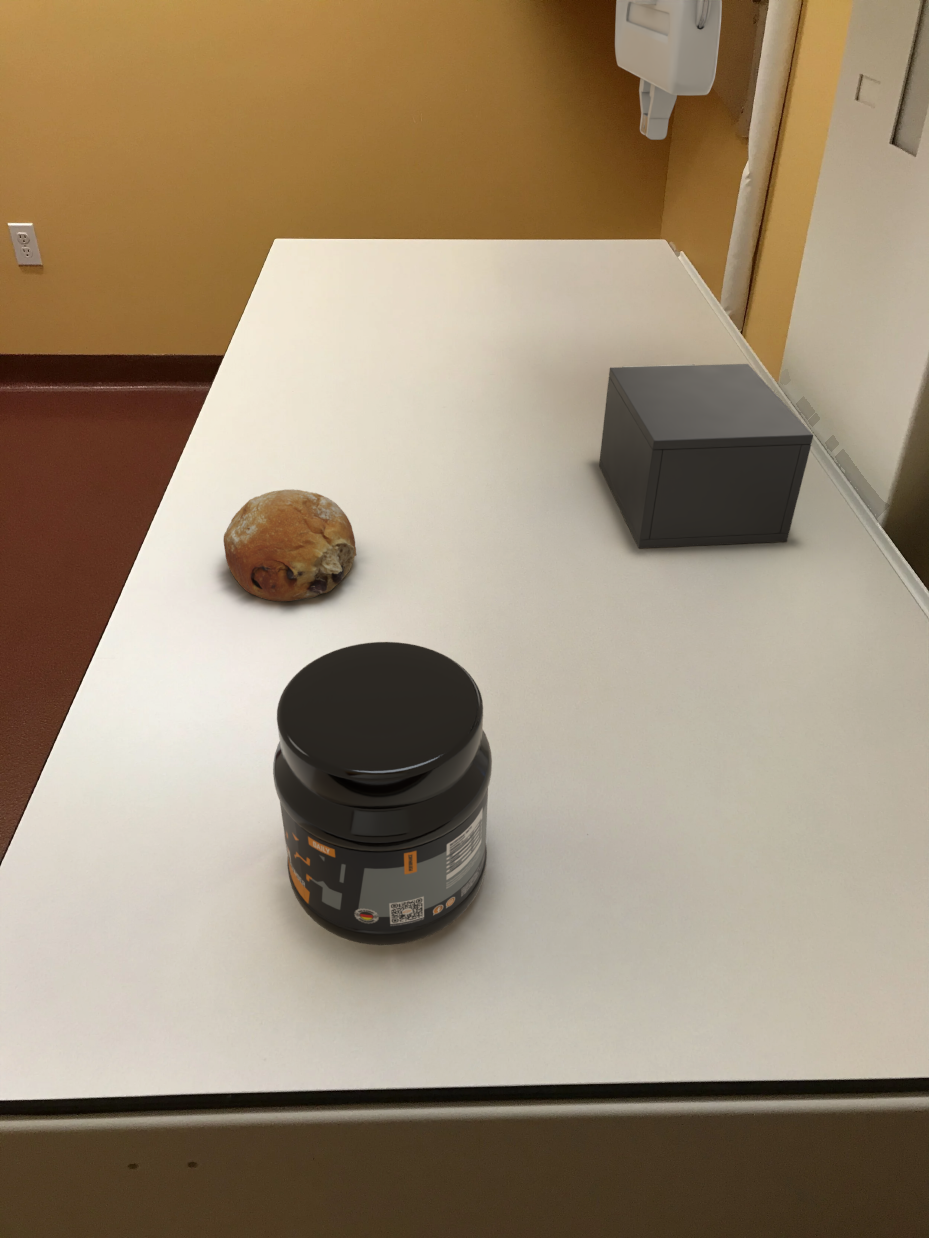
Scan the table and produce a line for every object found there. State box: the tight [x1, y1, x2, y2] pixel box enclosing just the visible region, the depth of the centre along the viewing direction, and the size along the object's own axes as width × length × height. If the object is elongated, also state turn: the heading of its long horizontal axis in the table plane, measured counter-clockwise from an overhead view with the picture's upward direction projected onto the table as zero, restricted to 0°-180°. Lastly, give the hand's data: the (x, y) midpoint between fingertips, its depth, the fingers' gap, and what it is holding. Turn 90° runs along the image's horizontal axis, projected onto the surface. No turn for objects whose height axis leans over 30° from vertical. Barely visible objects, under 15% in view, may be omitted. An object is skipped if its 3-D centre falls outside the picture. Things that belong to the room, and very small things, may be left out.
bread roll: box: [223, 488, 357, 602], centre depth 74 cm, size 10×10×8 cm
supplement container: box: [272, 641, 493, 946], centre depth 48 cm, size 10×10×12 cm
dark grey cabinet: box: [598, 363, 814, 549], centre depth 82 cm, size 15×13×10 cm
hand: (652, 137), depth 89 cm, fingers closed
